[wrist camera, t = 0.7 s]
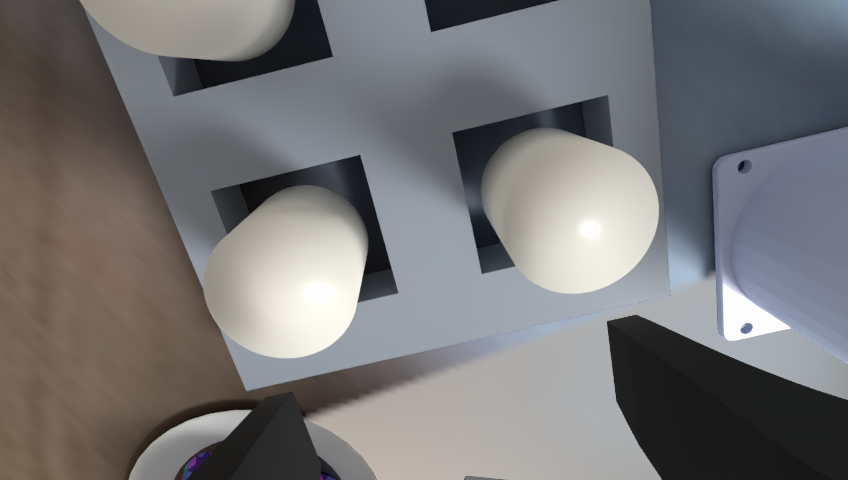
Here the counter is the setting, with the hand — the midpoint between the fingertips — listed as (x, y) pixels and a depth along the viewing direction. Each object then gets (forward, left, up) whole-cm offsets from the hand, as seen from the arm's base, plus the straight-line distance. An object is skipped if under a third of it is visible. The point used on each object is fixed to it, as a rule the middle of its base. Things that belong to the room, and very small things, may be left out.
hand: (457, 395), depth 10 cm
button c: (+4, -2, -7) cm, 8 cm away
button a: (-4, -2, -7) cm, 8 cm away
